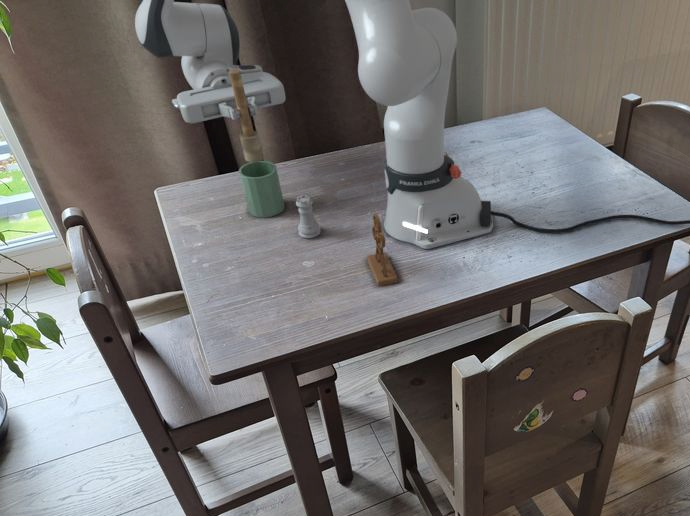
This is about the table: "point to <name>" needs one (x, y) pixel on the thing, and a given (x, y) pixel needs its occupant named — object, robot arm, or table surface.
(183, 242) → the table surface
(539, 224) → the table surface
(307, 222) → the rook chess piece
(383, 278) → the wooden figure on stand
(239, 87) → the bottle brush
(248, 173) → the green pen holder
